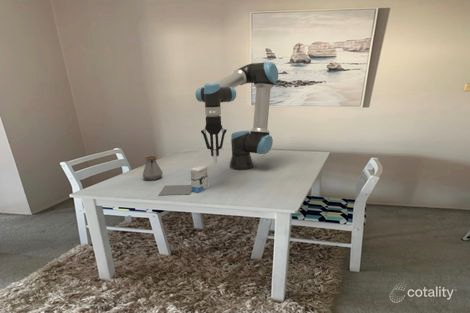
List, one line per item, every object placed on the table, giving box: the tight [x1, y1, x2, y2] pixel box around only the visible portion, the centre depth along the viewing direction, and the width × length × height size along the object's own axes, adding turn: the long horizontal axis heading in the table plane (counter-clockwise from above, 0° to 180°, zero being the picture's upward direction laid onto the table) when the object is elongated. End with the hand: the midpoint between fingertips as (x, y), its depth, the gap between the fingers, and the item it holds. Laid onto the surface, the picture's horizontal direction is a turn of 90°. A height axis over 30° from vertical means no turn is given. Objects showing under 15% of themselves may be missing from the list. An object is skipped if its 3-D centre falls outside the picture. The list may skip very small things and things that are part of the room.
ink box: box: [190, 165, 209, 193], centre depth 155 cm, size 8×5×12 cm, turn 149°
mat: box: [158, 184, 193, 197], centre depth 157 cm, size 16×14×1 cm
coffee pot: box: [142, 155, 164, 181], centre depth 172 cm, size 21×12×15 cm, turn 18°
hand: (215, 162), depth 153 cm, fingers closed
